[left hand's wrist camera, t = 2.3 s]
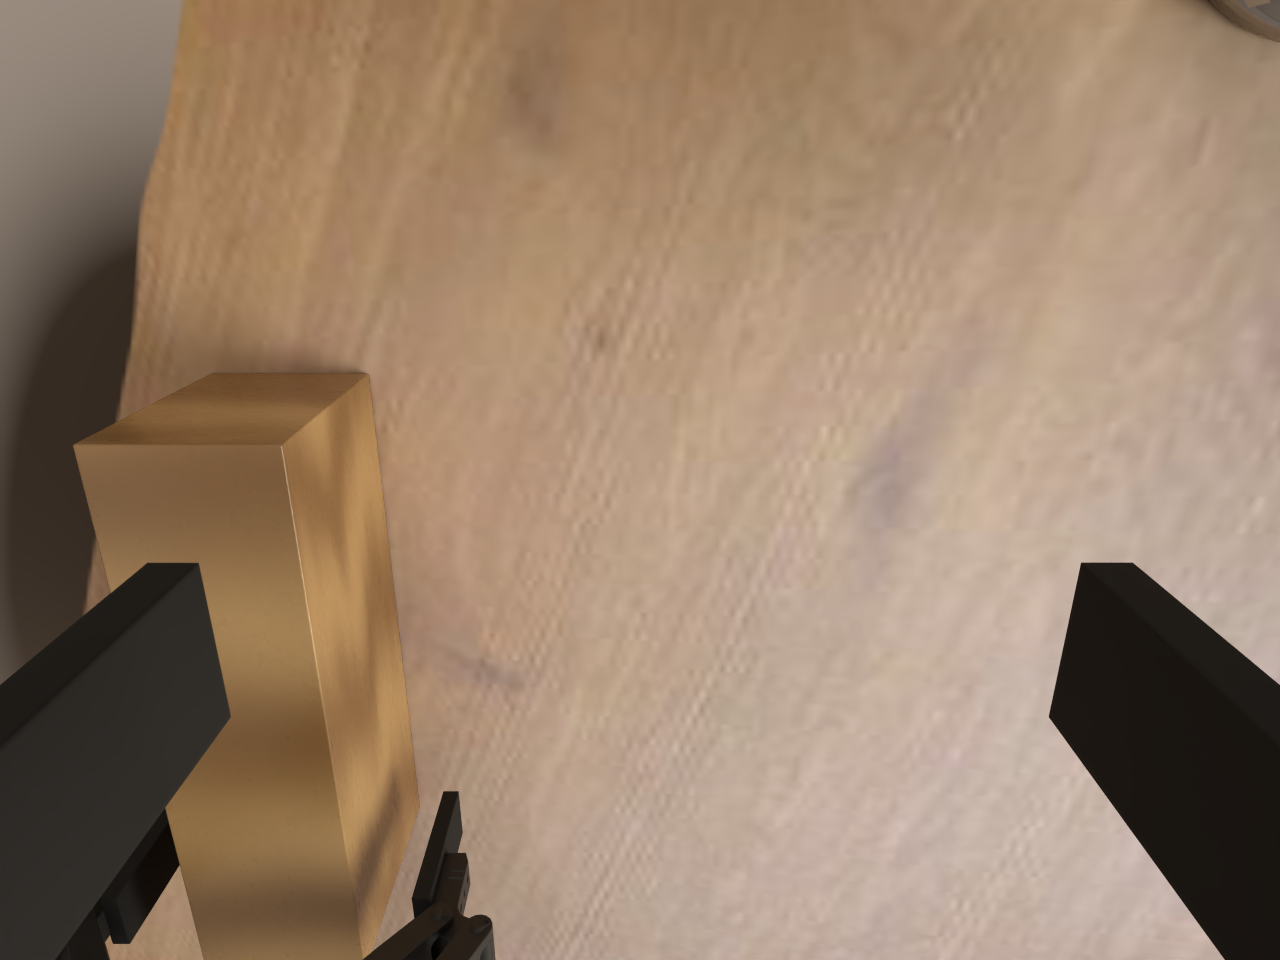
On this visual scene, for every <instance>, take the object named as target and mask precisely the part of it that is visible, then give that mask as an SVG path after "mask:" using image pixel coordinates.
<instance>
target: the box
mask: <svg viewBox="0 0 1280 960" xmlns="http://www.w3.org/2000/svg"><path fill="white" fill-rule="evenodd" d="M73 448H74V452H75V456H76V459H77V463H78V467H79V471H80V475H81V479H82V483H83V487H84V491H85V495H86V499H87V503H88V507H89V510H90V514H91V518H92V522H93V526H94V530H95V534H96V538H97V542H98V546H99V550H100V554H101V558H102V562H103V566H104V569H105V573H106V577H107V581H108V585H109V589H110V593H112V592H113V591H114V590H115V589H116V588H118V587H119V586H120V585H121V584H122V583H124V582H125V581H126V580H127V579H128V578H130V577H131V576H132V575H133V574H134V573H136V572H137V571H138V570H139V569H140V568H142V567H143V566H144V565H145V564H146V563H199V566H200V571H201V576H202V581H203V585H204V590H205V595H206V600H207V604H208V609H209V614H210V619H211V623H212V628H213V633H214V638H215V642H216V647H217V652H218V657H219V661H220V666H221V671H222V676H223V680H224V685H225V690H226V695H227V700H228V704H229V709H230V714H231V718H230V719H229V721H228V722H227V723H226V725H225V726H224V727H223V729H222V730H221V732H220V733H219V734H218V736H217V737H216V738H215V740H214V741H213V743H212V744H211V745H210V747H209V748H208V749H207V751H206V752H205V754H204V755H203V756H202V758H201V759H200V761H199V762H198V763H197V765H196V766H195V767H194V769H193V770H192V772H191V773H190V774H189V776H188V777H187V778H186V780H185V781H184V783H183V784H182V785H181V787H180V788H179V789H178V791H177V792H176V794H175V795H174V796H173V798H172V799H171V801H170V802H169V803H168V805H167V806H166V807H165V809H166V813H167V817H168V821H169V825H170V829H171V833H172V837H173V840H174V844H175V848H176V852H177V856H178V860H179V864H180V868H181V872H182V876H183V880H184V884H185V888H186V891H187V895H188V899H189V903H190V907H191V911H192V915H193V919H194V923H195V927H196V931H197V935H198V939H199V943H200V946H201V950H202V954H203V958H204V960H362V959H364V958H365V957H366V956H367V955H369V954H370V953H371V952H372V949H373V946H374V943H375V940H376V937H377V934H378V931H379V928H380V925H381V922H382V919H383V916H384V913H385V910H386V907H387V904H388V901H389V898H390V895H391V892H392V889H393V886H394V883H395V880H396V877H397V874H398V871H399V868H400V865H401V862H402V859H403V856H404V853H405V850H406V847H407V844H408V841H409V838H410V835H411V832H412V829H413V826H414V823H415V820H416V817H417V814H418V811H419V808H420V806H419V797H418V789H417V780H416V772H415V763H414V755H413V746H412V738H411V729H410V721H409V712H408V704H407V695H406V687H405V678H404V670H403V661H402V653H401V644H400V636H399V627H398V619H397V611H396V602H395V594H394V585H393V577H392V568H391V560H390V551H389V543H388V534H387V526H386V517H385V509H384V500H383V492H382V483H381V475H380V466H379V458H378V449H377V441H376V432H375V424H374V415H373V407H372V398H371V390H370V381H369V374H367V373H211V374H209V375H207V376H206V377H204V378H202V379H200V380H198V381H196V382H194V383H192V384H190V385H188V386H186V387H184V388H182V389H180V390H178V391H177V392H175V393H173V394H171V395H169V396H167V397H165V398H163V399H161V400H159V401H157V402H155V403H153V404H151V405H149V406H148V407H146V408H144V409H142V410H140V411H138V412H136V413H134V414H132V415H130V416H128V417H126V418H124V419H122V420H120V421H118V422H117V423H115V424H113V425H111V426H109V427H107V428H105V429H103V430H101V431H99V432H97V433H95V434H93V435H91V436H90V437H88V438H86V439H84V440H82V441H80V442H78V443H76V444H74V445H73Z"/></svg>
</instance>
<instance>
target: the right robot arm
mask: <svg viewBox="0 0 1280 960" xmlns="http://www.w3.org/2000/svg"><path fill="white" fill-rule="evenodd" d="M462 833H463V832H462V822H461V812H460V802H459V792H458V791H444V792H443V795H442V799H441V802H440V805H439V809H438V812H437V815H436V819H435V822H434V825H433V829H432V832H431V836H430V839H429V842H428V846H427V849H426V852H425V856H424V859H423V862H422V866H421V869H420V873H419V876H418V879H417V883H416V886H415V889H414V893H413V896H412V903H413V911H414V918H415V919H413V920H412V921H411V922H410V923H408V924H407V925H406V926H404V927H403V928H402V929H401V930H399V931H398V932H397V933H395V934H394V935H393V936H392V937H390V938H389V939H388V940H387V941H385V942H384V943H383V944H381V945H380V946H379V947H378V948H376V949H375V950H374V951H373V952H371V953H370V954H369V955H367V956H366V957H365V958H364V959H362V960H495V949H494V938H493V926H492V921H491V919H490V918H489V917H487V916H485V915H475V916H473V917H471V918H467V917H465V916H463V914H464V909H465V905H466V900H467V896H468V892H469V887H470V877H469V866H468V860H467V856H466V853H458V849H459V845H460V841H461V837H462ZM179 865H180V864H179V860H178V856H177V852H176V848H175V844H174V840H173V837H172V833H171V829H170V825H169V821H168V817H167V813H166V809H164V810H163V812H162V813H161V814H160V816H159V817H158V818H157V820H156V821H155V823H154V824H153V825H152V827H151V828H150V830H149V831H148V832H147V834H146V835H145V836H144V838H143V839H142V841H141V842H140V843H139V845H138V846H137V847H136V849H135V850H134V852H133V853H132V854H131V856H130V857H129V858H128V860H127V861H126V863H125V864H124V865H123V867H122V868H121V870H120V871H119V872H118V874H117V875H116V876H115V878H114V879H113V881H112V882H111V883H110V885H109V886H108V887H107V889H106V890H105V892H104V893H103V894H102V896H101V897H100V899H99V900H98V901H97V903H96V904H95V905H94V907H93V908H92V910H91V911H90V912H89V914H88V915H87V916H86V918H85V919H84V921H83V922H82V923H81V925H80V926H79V927H78V929H77V930H76V932H75V933H74V934H73V936H72V937H71V939H70V940H69V941H68V943H67V944H66V945H65V947H64V948H63V950H62V951H61V952H60V954H59V955H58V956H57V958H56V959H55V960H110V958H109V954H108V951H107V948H106V945H105V941H106V940H107V938H108V937H109V935H110V936H111V939H112V942H113V944H130V943H131V941H132V940H133V938H134V936H135V935H136V933H137V932H138V930H139V929H140V927H141V925H142V924H143V922H144V921H145V919H146V917H147V916H148V914H149V913H150V911H151V909H152V908H153V906H154V905H155V903H156V902H157V900H158V898H159V897H160V895H161V894H162V892H163V890H164V889H165V887H166V886H167V884H168V883H169V881H170V879H171V878H172V876H173V875H174V873H175V871H176V870H177V868H178V867H179Z"/></svg>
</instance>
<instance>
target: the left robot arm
mask: <svg viewBox="0 0 1280 960" xmlns="http://www.w3.org/2000/svg"><path fill="white" fill-rule="evenodd" d="M1209 1H1210V2H1211V3H1212V4H1213V5H1214V6H1215V7H1216V8H1217V9H1218V10H1219V11H1220V12H1221V13H1223V14H1224V15H1225V16H1226V17H1227V18H1229V19H1230V20H1232V21H1233V22H1234V23H1236V24H1237V25H1239V26H1240V27H1242V28H1244V29H1246V30H1248V31H1250V32H1252V33H1254V34H1256V35H1259V36H1261V37H1264V38H1267V39H1270V40H1273V41H1277V42H1280V0H1209ZM230 718H231V714H230V709H229V704H228V700H227V695H226V690H225V685H224V680H223V676H222V671H221V666H220V661H219V657H218V652H217V647H216V642H215V638H214V633H213V628H212V623H211V619H210V614H209V609H208V604H207V600H206V595H205V590H204V585H203V581H202V576H201V571H200V566H199V563H146V564H145V565H144V566H143V567H142V568H140V569H139V570H138V571H137V572H136V573H134V574H133V575H132V576H131V577H130V578H128V579H127V580H126V581H125V582H124V583H122V584H121V585H120V586H119V587H118V588H116V589H115V590H114V591H113V592H112V593H110V594H109V595H108V596H107V597H106V598H104V599H103V600H102V601H101V602H100V603H98V604H97V605H96V606H95V607H94V608H92V609H91V610H90V611H89V612H87V613H86V614H85V615H84V616H83V617H81V618H80V619H79V620H78V621H77V622H76V623H74V624H73V625H72V626H71V627H69V628H68V629H67V630H66V631H65V632H64V633H62V634H61V635H60V636H59V637H58V638H56V639H55V640H54V641H53V642H51V643H50V644H49V645H48V646H47V647H45V648H44V649H43V650H42V651H41V652H39V653H38V654H37V655H36V656H35V657H33V658H32V659H31V660H30V661H29V662H27V663H26V664H25V665H24V666H23V667H21V668H20V669H19V670H18V671H17V672H15V673H14V674H13V675H12V676H11V677H9V678H8V679H7V680H6V681H5V682H3V683H2V684H1V685H0V960H55V959H56V958H57V956H58V955H59V954H60V952H61V951H62V950H63V948H64V947H65V945H66V944H67V943H68V941H69V940H70V939H71V937H72V936H73V934H74V933H75V932H76V930H77V929H78V927H79V926H80V925H81V923H82V922H83V921H84V919H85V918H86V916H87V915H88V914H89V912H90V911H91V910H92V908H93V907H94V905H95V904H96V903H97V901H98V900H99V899H100V897H101V896H102V894H103V893H104V892H105V890H106V889H107V887H108V886H109V885H110V883H111V882H112V881H113V879H114V878H115V876H116V875H117V874H118V872H119V871H120V870H121V868H122V867H123V865H124V864H125V863H126V861H127V860H128V858H129V857H130V856H131V854H132V853H133V852H134V850H135V849H136V847H137V846H138V845H139V843H140V842H141V841H142V839H143V838H144V836H145V835H146V834H147V832H148V831H149V830H150V828H151V827H152V825H153V824H154V823H155V821H156V820H157V818H158V817H159V816H160V814H161V813H162V812H163V810H164V809H165V807H166V806H167V805H168V803H169V802H170V801H171V799H172V798H173V796H174V795H175V794H176V792H177V791H178V789H179V788H180V787H181V785H182V784H183V783H184V781H185V780H186V778H187V777H188V776H189V774H190V773H191V772H192V770H193V769H194V767H195V766H196V765H197V763H198V762H199V761H200V759H201V758H202V756H203V755H204V754H205V752H206V751H207V749H208V748H209V747H210V745H211V744H212V743H213V741H214V740H215V738H216V737H217V736H218V734H219V733H220V732H221V730H222V729H223V727H224V726H225V725H226V723H227V722H228V721H229V719H230ZM1049 718H1050V719H1051V721H1052V722H1053V723H1054V725H1055V726H1056V727H1057V729H1058V730H1059V732H1060V733H1061V734H1062V736H1063V737H1064V738H1065V740H1066V741H1067V743H1068V744H1069V745H1070V747H1071V748H1072V749H1073V751H1074V752H1075V754H1076V755H1077V756H1078V758H1079V759H1080V761H1081V762H1082V763H1083V765H1084V766H1085V767H1086V769H1087V770H1088V772H1089V773H1090V774H1091V776H1092V777H1093V778H1094V780H1095V781H1096V783H1097V784H1098V785H1099V787H1100V788H1101V789H1102V791H1103V792H1104V794H1105V795H1106V796H1107V798H1108V799H1109V801H1110V802H1111V803H1112V805H1113V806H1114V807H1115V809H1116V810H1117V812H1118V813H1119V814H1120V816H1121V817H1122V818H1123V820H1124V821H1125V823H1126V824H1127V825H1128V827H1129V828H1130V830H1131V831H1132V832H1133V834H1134V835H1135V836H1136V838H1137V839H1138V841H1139V842H1140V843H1141V845H1142V846H1143V847H1144V849H1145V850H1146V852H1147V853H1148V854H1149V856H1150V857H1151V858H1152V860H1153V861H1154V863H1155V864H1156V865H1157V867H1158V868H1159V870H1160V871H1161V872H1162V874H1163V875H1164V876H1165V878H1166V879H1167V881H1168V882H1169V883H1170V885H1171V886H1172V887H1173V889H1174V890H1175V892H1176V893H1177V894H1178V896H1179V897H1180V899H1181V900H1182V901H1183V903H1184V904H1185V905H1186V907H1187V908H1188V910H1189V911H1190V912H1191V914H1192V915H1193V916H1194V918H1195V919H1196V921H1197V922H1198V923H1199V925H1200V926H1201V927H1202V929H1203V930H1204V932H1205V933H1206V934H1207V936H1208V937H1209V939H1210V940H1211V941H1212V943H1213V944H1214V945H1215V947H1216V948H1217V950H1218V951H1219V952H1220V954H1221V955H1222V956H1223V958H1224V959H1225V960H1280V685H1279V684H1278V683H1277V682H1275V681H1274V680H1273V679H1272V678H1271V677H1269V676H1268V675H1267V674H1266V673H1265V672H1263V671H1262V670H1261V669H1260V668H1259V667H1257V666H1256V665H1255V664H1254V663H1253V662H1251V661H1250V660H1249V659H1248V658H1247V657H1245V656H1244V655H1243V654H1242V653H1241V652H1239V651H1238V650H1237V649H1236V648H1235V647H1233V646H1232V645H1231V644H1230V643H1229V642H1227V641H1226V640H1225V639H1224V638H1223V637H1221V636H1220V635H1219V634H1218V633H1217V632H1215V631H1214V630H1213V629H1212V628H1211V627H1209V626H1208V625H1207V624H1206V623H1205V622H1203V621H1202V620H1201V619H1200V618H1199V617H1197V616H1196V615H1195V614H1194V613H1193V612H1191V611H1190V610H1189V609H1188V608H1186V607H1185V606H1184V605H1183V604H1182V603H1180V602H1179V601H1178V600H1177V599H1176V598H1174V597H1173V596H1172V595H1171V594H1170V593H1168V592H1167V591H1166V590H1165V589H1164V588H1162V587H1161V586H1160V585H1159V584H1158V583H1156V582H1155V581H1154V580H1153V579H1152V578H1150V577H1149V576H1148V575H1147V574H1146V573H1144V572H1143V571H1142V570H1141V569H1140V568H1138V567H1137V566H1136V565H1135V564H1134V563H1081V566H1080V571H1079V576H1078V581H1077V585H1076V590H1075V595H1074V600H1073V604H1072V609H1071V614H1070V619H1069V623H1068V628H1067V633H1066V638H1065V642H1064V647H1063V652H1062V657H1061V661H1060V666H1059V671H1058V676H1057V680H1056V685H1055V690H1054V695H1053V699H1052V704H1051V709H1050V714H1049Z"/></svg>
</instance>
